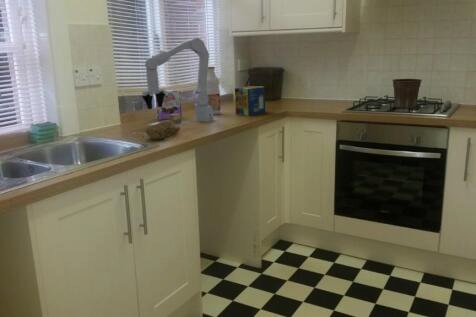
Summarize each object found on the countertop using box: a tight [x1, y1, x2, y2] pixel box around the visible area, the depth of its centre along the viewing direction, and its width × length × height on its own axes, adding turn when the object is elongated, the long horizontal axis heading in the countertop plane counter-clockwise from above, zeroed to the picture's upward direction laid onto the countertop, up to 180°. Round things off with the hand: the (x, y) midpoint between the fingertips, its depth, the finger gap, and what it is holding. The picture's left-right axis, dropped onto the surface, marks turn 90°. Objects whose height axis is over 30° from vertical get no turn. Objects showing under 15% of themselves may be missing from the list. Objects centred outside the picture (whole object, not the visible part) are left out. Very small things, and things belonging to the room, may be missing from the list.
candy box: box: [154, 89, 183, 120], centre depth 255 cm, size 14×6×16 cm, turn 105°
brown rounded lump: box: [145, 121, 181, 140], centre depth 205 cm, size 13×8×20 cm
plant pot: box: [391, 78, 423, 110], centre depth 262 cm, size 16×16×16 cm
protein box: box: [234, 85, 266, 117], centre depth 264 cm, size 10×15×16 cm
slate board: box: [145, 120, 191, 127], centre depth 238 cm, size 16×18×1 cm
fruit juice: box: [206, 66, 221, 116], centre depth 268 cm, size 9×9×28 cm
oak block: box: [168, 113, 182, 124], centre depth 239 cm, size 4×4×4 cm
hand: (155, 108), depth 235 cm, fingers open, 7 cm apart
